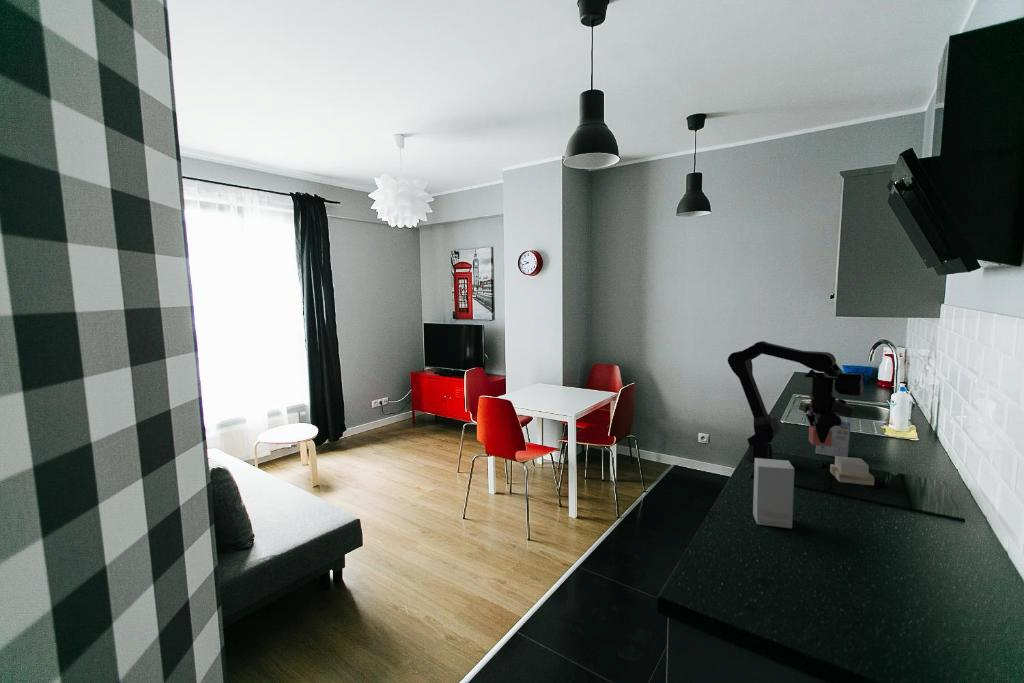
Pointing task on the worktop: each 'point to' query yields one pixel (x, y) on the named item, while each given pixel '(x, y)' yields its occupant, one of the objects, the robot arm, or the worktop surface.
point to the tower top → (851, 465)
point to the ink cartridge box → (837, 441)
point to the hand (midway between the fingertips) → (819, 440)
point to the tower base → (851, 477)
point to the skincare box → (773, 492)
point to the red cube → (815, 440)
